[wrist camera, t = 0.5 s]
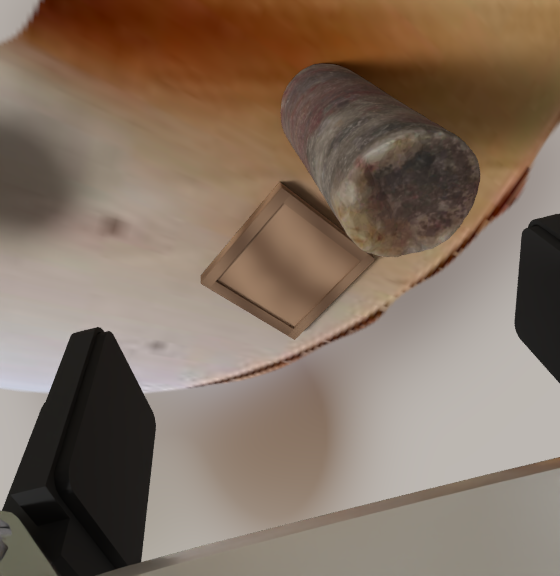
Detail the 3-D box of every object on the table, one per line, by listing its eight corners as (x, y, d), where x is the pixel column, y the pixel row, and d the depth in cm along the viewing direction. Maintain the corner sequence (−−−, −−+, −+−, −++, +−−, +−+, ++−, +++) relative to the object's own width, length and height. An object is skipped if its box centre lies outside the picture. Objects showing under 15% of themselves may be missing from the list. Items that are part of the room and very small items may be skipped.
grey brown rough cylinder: (383, 81, 40) (513, 157, 23) (347, 165, 43) (437, 283, 26) (297, 47, 37) (371, 103, 21) (267, 138, 41) (308, 249, 24)
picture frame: (279, 181, 43) (281, 187, 42) (370, 252, 48) (375, 259, 47) (200, 275, 47) (200, 283, 46) (292, 331, 52) (294, 339, 51)
